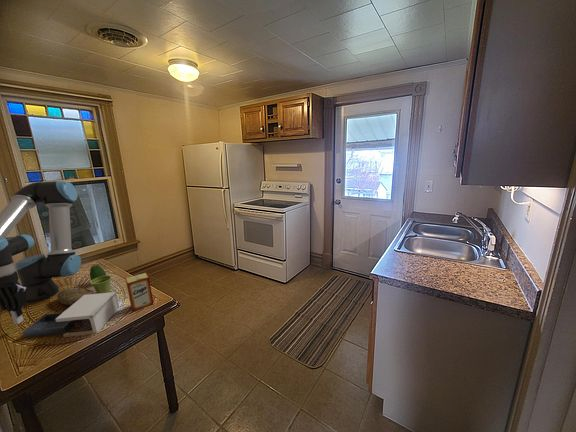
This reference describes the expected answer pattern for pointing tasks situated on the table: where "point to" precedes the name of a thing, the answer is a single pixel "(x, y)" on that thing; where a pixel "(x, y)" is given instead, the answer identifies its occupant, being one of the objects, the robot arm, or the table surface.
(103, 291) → the plant pot
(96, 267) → the avocado
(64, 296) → the sponge
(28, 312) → the table surface
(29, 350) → the table surface
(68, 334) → the white box
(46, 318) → the tray
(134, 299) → the baking soda box
